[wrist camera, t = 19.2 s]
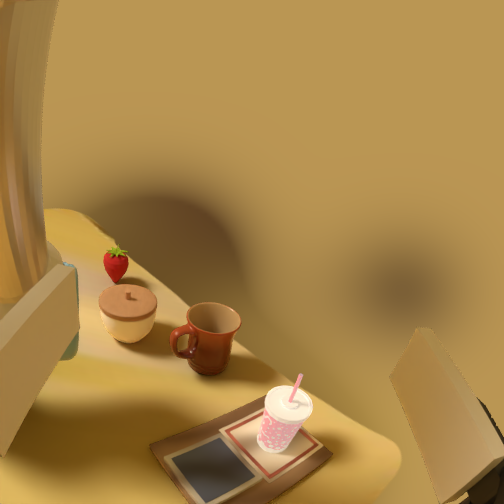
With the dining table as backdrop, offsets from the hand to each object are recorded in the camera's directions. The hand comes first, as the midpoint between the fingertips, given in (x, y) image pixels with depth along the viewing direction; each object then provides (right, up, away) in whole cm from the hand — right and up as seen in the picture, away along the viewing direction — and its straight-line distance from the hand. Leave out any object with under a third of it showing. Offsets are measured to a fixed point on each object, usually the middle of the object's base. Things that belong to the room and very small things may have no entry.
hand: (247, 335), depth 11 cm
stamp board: (-1, -25, +27) cm, 37 cm away
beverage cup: (+3, -24, +29) cm, 38 cm away
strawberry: (-32, -4, +61) cm, 69 cm away
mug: (-9, -17, +42) cm, 47 cm away
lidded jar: (-23, -13, +46) cm, 53 cm away
